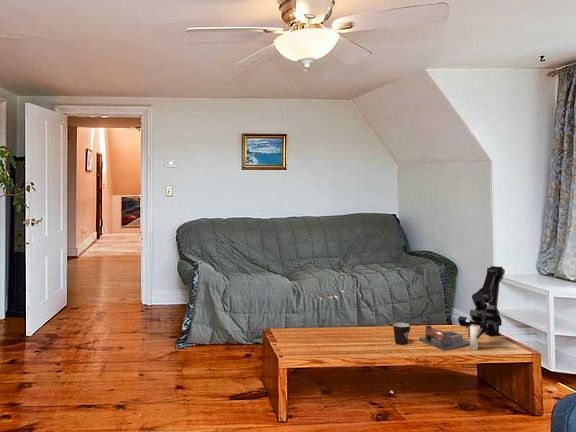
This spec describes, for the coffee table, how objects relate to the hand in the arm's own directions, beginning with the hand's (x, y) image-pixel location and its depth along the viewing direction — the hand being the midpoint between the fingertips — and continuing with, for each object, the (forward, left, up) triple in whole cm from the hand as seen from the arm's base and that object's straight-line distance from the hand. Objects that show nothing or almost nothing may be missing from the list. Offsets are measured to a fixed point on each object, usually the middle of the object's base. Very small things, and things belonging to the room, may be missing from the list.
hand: (473, 337), depth 269 cm
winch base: (+8, -14, -7) cm, 17 cm away
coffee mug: (+30, -19, -7) cm, 36 cm away
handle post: (-1, -1, -7) cm, 7 cm away
